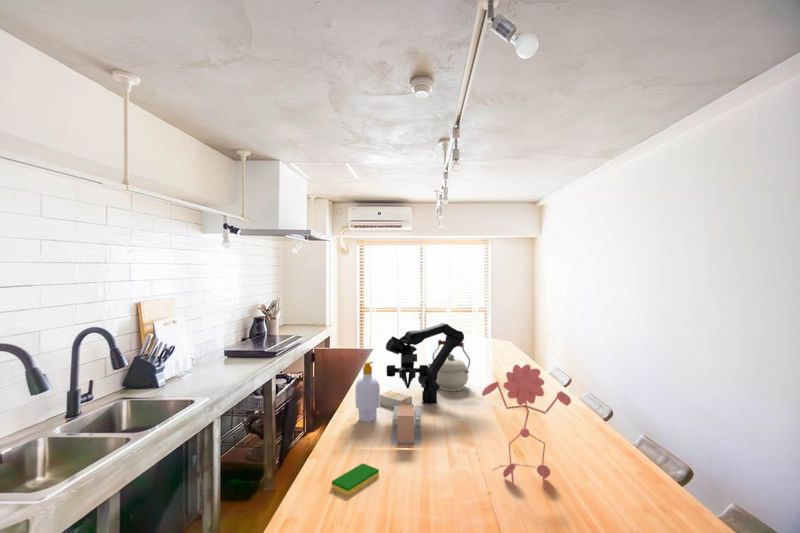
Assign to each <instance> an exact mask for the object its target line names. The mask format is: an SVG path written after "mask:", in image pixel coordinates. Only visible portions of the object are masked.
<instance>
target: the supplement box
mask: <svg viewBox="0 0 800 533" xmlns="http://www.w3.org/2000/svg"><path fill="white" fill-rule="evenodd" d="M412 398H413V397H412V395H407V394H403V393H400V392H396V391H392V390H390V391H387V392H385V393H382V394H380V406H383V407H389V408H393V409H394V406H399V404H410V405H413V399H412Z"/></svg>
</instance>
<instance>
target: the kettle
mask: <svg viewBox="0 0 800 533" xmlns="http://www.w3.org/2000/svg"><path fill="white" fill-rule="evenodd" d="M444 344H445V340H441V339H438V341H437V348H436V349H435V350H434V351H433V353H432V355H431V356H432V357H431V358H432V362H433V361H434V359H435V354H436V352H437V351H438V350H439V349H440V347H441V345H442V346H444ZM464 344H465V343H464V342H463V341H462V342H461V344H460V345H458V346H457V347H460V348H462V352H463V353H464V355H465V357H467V360H468V365H467V366H466V364H465V363H464V361H463V360H461V359H459V358H456V357H455V355H454V354H452V353H450V355H449V356H448V358H447V359H446V361H445V362H444V364H443V365H442V367H441V368H440V370H439V372H438V375H437V380H436V383H437V384H438V385H439V386H440V388H439V390H443V391H445V392H446V391H447V392H457V391H458V392H459V391H462V390H464V388H465V386H466V384H467V382H468V380H469V373H470V371H469V369H470V366H471V358H470V357H469V355H468V353H467V352H466V350H465V345H464ZM432 362H429V363H427V366H428V367H430V365H431V364H432Z"/></svg>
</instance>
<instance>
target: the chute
mask: <svg viewBox="0 0 800 533" xmlns="http://www.w3.org/2000/svg"><path fill="white" fill-rule="evenodd" d="M420 408H421V407H420V405H414V443H398V406H394V408H393V414H392V415H393V416H392V432H391V441H390V445H391V446H395V445H396V446H398V445H399V446H400V445H401V446H403V445H404V446H422V444H423V443H422V430H421V429H422V428H421V409H420Z"/></svg>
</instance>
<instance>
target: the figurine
mask: <svg viewBox="0 0 800 533" xmlns="http://www.w3.org/2000/svg"><path fill="white" fill-rule="evenodd" d="M540 375H541V370H540V369H539V368H532V369H531V365H530V364H528V363H527V364H524V365H523V366H522V367H521V366H520V365H519V364H514V366H513V368H512V372H511V371H507V372H506V380H507V381H506V382H504V383H503V385H502V387H503V388H504V389H506V390H507V391H508V392H507V396H506V397H507V398H509V399H516V402H517V404H518V405H514V406H508V405H507V402H506V399H505V398H504V394H503V393H502V390H501V387H500V384H499V383H500V382H499V381H495V382H492V383H491V384H489V385H487V386H486V387H484V388H483V391H482V393H481V395H482V397H484V396H486V395H489V394H491V393H492V392H494V391H495V390H496V389H498V391H499V394H500V395H501V398H502V401H503V403H504V406H505V408H506V410H508V409H509V410H510V409H518V408H519V409H521V408H524V409H525V410H526V411H527V412H526V415H525V421H524V425H523V427H522V428H521V429H520V432H519V434H518V435H516V436H515V437H514V438H513V439H512V440H511V441H510V442H509V443H508V453H509V464H508V465H507V464H505V465H503V467H505V469H504V470H503V473H502V475H503V478H504V479H506V478H507V477H508V476H509V475H511V485H512V487H511V488H515V481H514V479H515V478H514V471H515V469H516V466H519V464H518V463H512V457H511V456H512V455H511V444H512V443H513V442H514V441H516V439H517V438H519V437H520V436H521V437H523V438H528V437H529V436H530V437H532V438H533V439H535V440H537V441H538V442H540V443H541V444H543V451H542V458H541V460H542V461H541V464H539V465H538V466H537V468H536V472H537V473H538V475H539V476H541V477H542V483H543V489H544V490H545V489H547V487H546V479H547V478H548V477H549V476H550V475H551V469H550V468H549V466H547V465H545V464H544V460H545V449H546V444H545V442H544V441H542V440H541V439H539V438H538V437H536V436H535V435H533V434H531V433H530V431H529V429H528V428H526V426H527V423H528V418H529V414H530V409H531V410H533V411H535V412H538V413H541V414H544V415H546V414H547V413H548V412H549V411H550V410H551V408H552V407H553V406H554V405H555V403H556V402H557V401H558V400H559V402H560V403H562V404H563V405H565V406H569V405H570V404H571V402H572V399H571V398H570V396H569V395H568V394H567V393H565V392H563V391H561V390H560V391H558V392H557V393H556V397H555V399H554V400H553V401H552V402H551V404H550V405H549V406H548V407H547V409H546V410H545V411H543V410H541V409H538V408H535V407H532V406H530V405H528V403H529V404H534V403H535V401H536V398H537V397H543V396H544V395H545V392H544V389H543V387H542V386H544V385H545V380H544V379H543V378H541V377H540ZM525 466H526V467H529V465H527V464H524V467H525ZM501 467H502V464H500V465H499V466H497V467H494V468H493V469H492V471H493V470H495V469H497V468H501ZM530 467H531V468H534V466H532V465H530Z"/></svg>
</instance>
